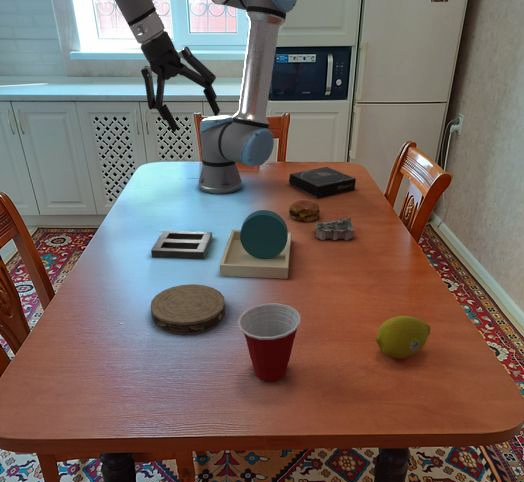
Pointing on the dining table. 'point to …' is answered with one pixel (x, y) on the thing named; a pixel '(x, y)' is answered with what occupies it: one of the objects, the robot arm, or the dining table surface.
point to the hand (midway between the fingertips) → (196, 121)
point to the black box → (322, 182)
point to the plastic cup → (270, 338)
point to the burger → (304, 210)
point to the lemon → (402, 336)
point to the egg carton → (335, 229)
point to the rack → (182, 245)
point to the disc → (264, 234)
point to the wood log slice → (188, 309)
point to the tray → (253, 261)
